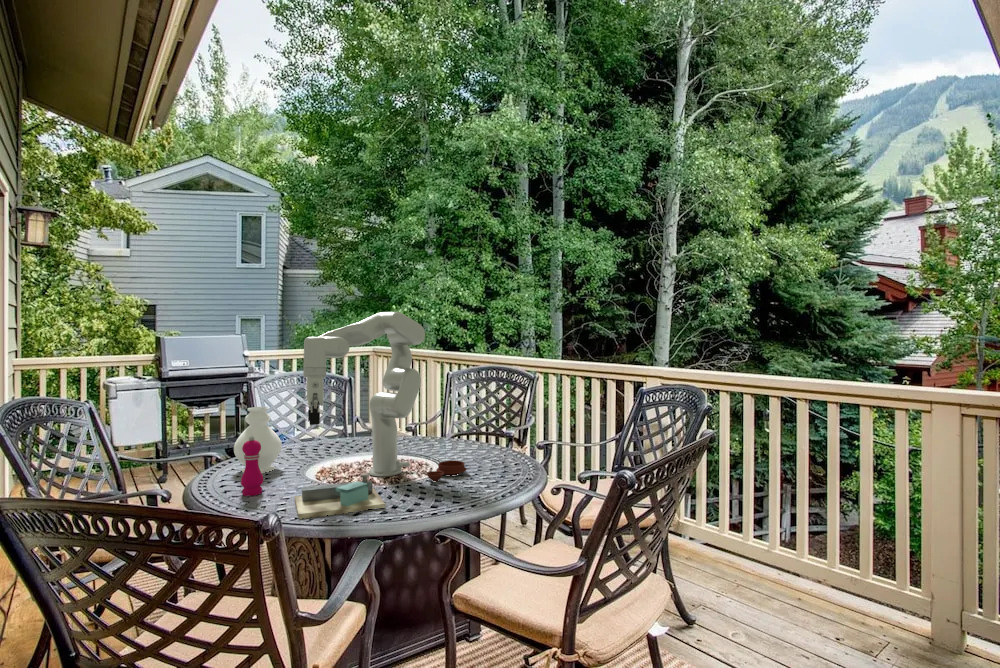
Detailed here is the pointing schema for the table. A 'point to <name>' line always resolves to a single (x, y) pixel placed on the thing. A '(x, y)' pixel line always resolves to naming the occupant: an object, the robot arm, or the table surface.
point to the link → (326, 491)
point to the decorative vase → (259, 439)
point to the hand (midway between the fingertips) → (313, 422)
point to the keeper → (353, 493)
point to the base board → (336, 505)
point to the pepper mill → (251, 468)
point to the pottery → (447, 469)
